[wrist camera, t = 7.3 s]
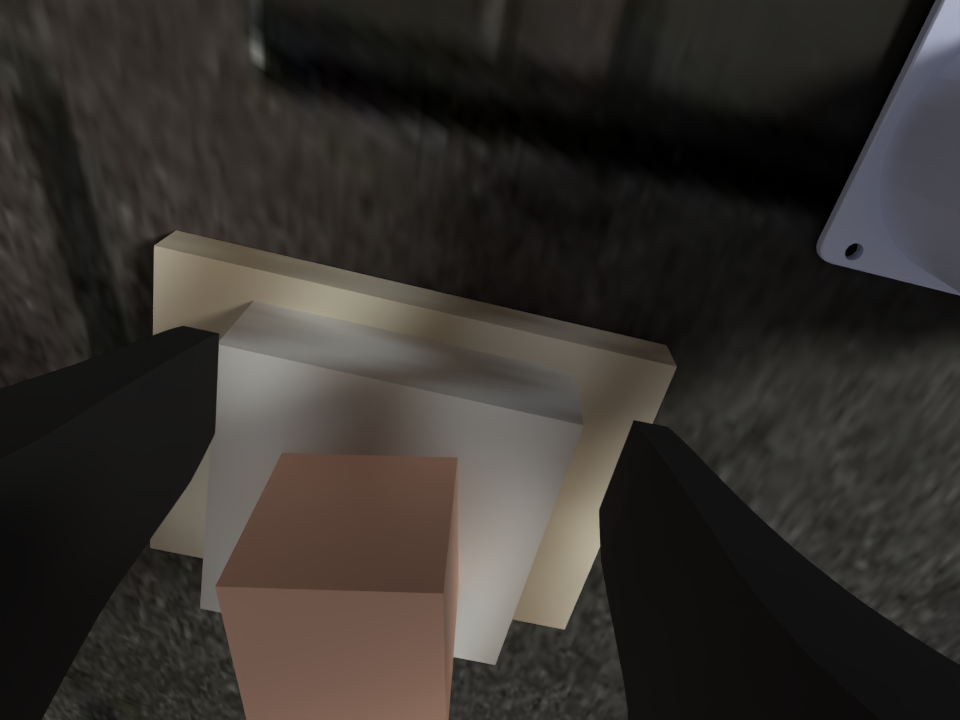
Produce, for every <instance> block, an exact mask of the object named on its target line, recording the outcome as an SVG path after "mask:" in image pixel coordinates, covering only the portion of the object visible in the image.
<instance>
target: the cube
mask: <svg viewBox="0 0 960 720" xmlns="http://www.w3.org/2000/svg"><path fill="white" fill-rule="evenodd" d="M215 589H216V593H217V597H218V601H219V606H220V610H221V614H222V618H223V622H224V627H225V631H226V635H227V639H228V643H229V648H230V652H231V656H232V660H233V664H234V669H235V673H236V677H237V681H238V685H239V690H240V694H241V698H242V702H243V706H244V710H245V715H246V719H247V720H448V717H449V705H450V692H451V680H452V667H453V655H454V642H455V630H456V617H457V604H458V592H459V548H458V458H457V457H418V456H378V455H339V454H299V453H282V454H281V456H280V458H279V460H278V462H277V464H276V466H275V468H274V470H273V472H272V474H271V476H270V478H269V480H268V482H267V484H266V486H265V488H264V490H263V492H262V494H261V496H260V498H259V500H258V502H257V504H256V506H255V508H254V510H253V512H252V514H251V516H250V518H249V520H248V522H247V524H246V526H245V528H244V530H243V532H242V534H241V536H240V538H239V540H238V542H237V544H236V546H235V548H234V550H233V552H232V554H231V556H230V558H229V560H228V562H227V564H226V566H225V568H224V570H223V572H222V574H221V576H220V578H219V580H218V582H217V584H216V586H215Z"/></svg>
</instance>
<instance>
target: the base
mask: <svg viewBox="0 0 960 720" xmlns="http://www.w3.org/2000/svg"><path fill="white" fill-rule="evenodd" d="M180 326H187V327H192V328H197V329H201V330H206V331H211V332H216V333H219V354H218V379H217V403H216V427H215V435H214V437H213V439H212V441H211V443H210V445H209V447H208V449H207V451H206V453H205V455H204V457H203V459H202V461H201V463H200V465H199V467H198V469H197V471H196V473H195V474H194V476H193V478H192V480H191V482H190V483H189V485H188V486H187V488H186V489H185V491H184V492H183V494H182V495H181V496H180V498H179V499H178V501H177V502H176V504H175V505H174V506H173V508H172V509H171V511H170V512H169V514H168V515H167V516H166V518H165V519H164V521H163V522H162V524H161V525H160V526H159V528H158V529H157V531H156V532H155V533H154V535H153V536H152V538H151V539H150V548H153V549H158V550H163V551H168V552H173V553H178V554H183V555H188V556H194V557H199V558H203V571H202V587H201V603H200V609H205V610H211V611H216V612H221V610H220V606H219V601H218V597H217V593H216V589H215V586H216V584H217V582H218V580H219V578H220V576H221V574H222V572H223V570H224V568H225V566H226V564H227V562H228V560H229V558H230V556H231V554H232V552H233V550H234V548H235V546H236V544H237V542H238V540H239V538H240V536H241V534H242V532H243V530H244V528H245V526H246V524H247V522H248V520H249V518H250V516H251V514H252V512H253V510H254V508H255V506H256V504H257V502H258V500H259V498H260V496H261V494H262V492H263V490H264V488H265V486H266V484H267V482H268V480H269V478H270V476H271V474H272V472H273V470H274V468H275V466H276V464H277V462H278V460H279V458H280V456H281V454H282V453H299V454H339V455H378V456H418V457H457V458H458V548H459V592H458V604H457V617H456V630H455V642H454V655H453V657H457V658H462V659H467V660H473V661H478V662H483V663H488V664H494V665H495V664H496V661H497V659H498V656H499V653H500V650H501V648H502V645H503V642H504V640H505V637H506V634H507V632H508V629H509V626H510V624H511V621H512V619H514V620H519V621H524V622H529V623H534V624H539V625H544V626H549V627H554V628H559V629H564V630H565V627H566V625H567V623H568V620H569V618H570V616H571V613H572V611H573V609H574V606H575V604H576V602H577V599H578V597H579V595H580V592H581V590H582V588H583V585H584V583H585V581H586V578H587V576H588V574H589V571H590V569H591V567H592V564H593V562H594V560H595V557H596V555H597V552H598V550H599V548H600V529H599V508H600V506H601V503H602V501H603V498H604V495H605V493H606V490H607V488H608V485H609V482H610V480H611V477H612V475H613V472H614V470H615V467H616V464H617V462H618V459H619V457H620V454H621V451H622V449H623V446H624V444H625V441H626V439H627V436H628V433H629V431H630V428H631V426H632V423H633V421H634V420H636V421H641V422H646V423H651V424H653V422H654V419H655V417H656V415H657V412H658V410H659V407H660V405H661V403H662V400H663V398H664V396H665V393H666V391H667V389H668V386H669V384H670V382H671V379H672V377H673V375H674V372H675V370H676V368H677V366H676V364H675V362H674V360H673V358H672V355H671V353H670V351H669V349H668V347H667V345H663V344H659V343H655V342H650V341H646V340H642V339H638V338H633V337H629V336H625V335H621V334H616V333H612V332H608V331H603V330H599V329H595V328H591V327H586V326H582V325H578V324H574V323H569V322H565V321H561V320H557V319H552V318H548V317H544V316H539V315H535V314H531V313H527V312H522V311H518V310H514V309H510V308H505V307H501V306H497V305H492V304H488V303H484V302H480V301H475V300H471V299H467V298H463V297H458V296H454V295H450V294H446V293H441V292H437V291H433V290H428V289H424V288H420V287H416V286H411V285H407V284H403V283H399V282H394V281H390V280H386V279H382V278H377V277H373V276H369V275H364V274H360V273H356V272H352V271H347V270H343V269H339V268H335V267H330V266H326V265H322V264H317V263H313V262H309V261H305V260H300V259H296V258H292V257H288V256H283V255H279V254H275V253H271V252H266V251H262V250H258V249H253V248H249V247H245V246H241V245H236V244H232V243H228V242H224V241H219V240H215V239H211V238H207V237H202V236H198V235H194V234H189V233H185V232H181V231H177V230H176V231H175V232H173V233H172V234H170V235H169V236H167V237H166V238H164V239H163V240H161V241H160V242H158V243H157V244H156V245H154V288H153V335H155V334H158V333H160V332H163V331H166V330H169V329H172V328H176V327H180Z"/></svg>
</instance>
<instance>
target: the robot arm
mask: <svg viewBox="0 0 960 720" xmlns="http://www.w3.org/2000/svg"><path fill="white" fill-rule="evenodd" d="M854 243H857V245H858V246H857V250H856V251H855V252H854V253H853V254H852V255H850V256H845V251H846V249H847V248H848V247H849V246H850V245H852V244H854ZM816 249H817V253H818V255H819V256H820V257H821V258H822V259H823V260H825V261H827V262H829V263H831V264H835V265H839V266H843V267H847V268H851V269H855V270H859V271H863V272H867V273H871V274H875V275H879V276H883V277H887V278H891V279H895V280H899V281H903V282H907V283H911V284H915V285H919V286H923V287H927V288H931V289H935V290H939V291H944V292H948V293H952V294H956V295H960V0H935V2H934V4H933V6H932V9H931V11H930V13H929V15H928V17H927V19H926V21H925V23H924V25H923V27H922V29H921V31H920V33H919V35H918V37H917V39H916V41H915V43H914V45H913V47H912V49H911V51H910V53H909V55H908V57H907V60H906V62H905V64H904V66H903V68H902V70H901V72H900V74H899V76H898V78H897V80H896V82H895V84H894V86H893V88H892V90H891V92H890V94H889V96H888V98H887V100H886V102H885V104H884V106H883V109H882V111H881V113H880V115H879V117H878V119H877V121H876V123H875V125H874V127H873V129H872V131H871V133H870V135H869V137H868V139H867V141H866V143H865V145H864V147H863V149H862V151H861V153H860V155H859V157H858V160H857V162H856V164H855V166H854V168H853V170H852V172H851V174H850V176H849V178H848V180H847V182H846V184H845V186H844V188H843V190H842V192H841V194H840V196H839V198H838V200H837V202H836V204H835V206H834V208H833V211H832V213H831V215H830V217H829V219H828V221H827V223H826V225H825V227H824V229H823V231H822V233H821V235H820V237H819V239H818V242H817V245H816ZM218 354H219V333H216V332H211V331H206V330H201V329H197V328H192V327H187V326H180V327H176V328H172V329H169V330H166V331H163V332H160V333H158V334H155V335H152V336H149V337H147V338H144V339H141V340H139V341H136V342H133V343H131V344H128V345H126V346H123V347H120V348H118V349H115V350H112V351H110V352H107V353H104V354H102V355H99V356H96V357H94V358H91V359H88V360H86V361H83V362H80V363H77V364H75V365H72V366H68V367H65V368H62V369H59V370H56V371H53V372H50V373H47V374H44V375H41V376H38V377H35V378H32V379H29V380H26V381H23V382H20V383H17V384H14V385H11V386H7V387H4V388H0V720H42V718H43V716H44V714H45V712H46V710H47V709H48V707H49V705H50V703H51V701H52V699H53V697H54V695H55V693H56V692H57V690H58V688H59V686H60V684H61V682H62V680H63V678H64V677H65V675H66V673H67V671H68V669H69V667H70V665H71V664H72V662H73V660H74V658H75V656H76V655H77V653H78V651H79V649H80V648H81V646H82V644H83V642H84V640H85V639H86V637H87V635H88V633H89V631H90V630H91V628H92V626H93V624H94V623H95V621H96V619H97V617H98V615H99V614H100V612H101V610H102V609H103V607H104V606H105V604H106V602H107V601H108V599H109V598H110V596H111V595H112V593H113V592H114V590H115V589H116V587H117V585H118V584H119V583H120V581H121V580H122V578H123V577H124V576H125V574H126V573H127V571H128V570H129V569H130V567H131V566H132V564H133V563H134V562H135V560H136V559H137V557H138V556H139V554H140V553H141V552H142V550H143V549H144V547H145V546H146V545H147V543H148V542H149V540H150V539H151V538H152V536H153V535H154V533H155V532H156V531H157V529H158V528H159V526H160V525H161V524H162V522H163V521H164V519H165V518H166V516H167V515H168V514H169V512H170V511H171V509H172V508H173V506H174V505H175V504H176V502H177V501H178V499H179V498H180V496H181V495H182V494H183V492H184V491H185V489H186V488H187V486H188V485H189V483H190V482H191V480H192V478H193V476H194V474H195V473H196V471H197V469H198V467H199V465H200V463H201V461H202V459H203V457H204V455H205V453H206V451H207V449H208V447H209V445H210V443H211V441H212V439H213V437H214V435H215V427H216V403H217V379H218ZM599 529H600V550H601V563H602V568H603V574H604V580H605V585H606V591H607V596H608V601H609V607H610V612H611V617H612V622H613V627H614V632H615V638H616V643H617V648H618V653H619V658H620V664H621V669H622V674H623V679H624V686H625V693H626V700H627V707H628V719H629V720H960V665H959V664H957V663H955V662H954V661H952V660H950V659H948V658H947V657H945V656H943V655H942V654H940V653H939V652H937V651H935V650H934V649H932V648H931V647H929V646H927V645H926V644H924V643H923V642H921V641H919V640H918V639H916V638H915V637H913V636H912V635H910V634H909V633H907V632H906V631H904V630H903V629H901V628H900V627H898V626H897V625H895V624H894V623H892V622H891V621H889V620H888V619H886V618H885V617H883V616H882V615H880V614H879V613H878V612H876V611H875V610H873V609H872V608H870V607H869V606H867V605H866V604H864V603H863V602H862V601H860V600H859V599H858V598H856V597H855V596H853V595H852V594H851V593H849V592H848V591H847V590H845V589H844V588H843V587H841V586H840V585H839V584H837V583H836V582H835V581H834V580H832V579H831V578H830V577H829V576H827V575H826V574H825V573H823V572H822V571H821V570H820V569H818V568H817V567H816V566H815V565H813V564H812V563H811V562H809V561H808V560H807V559H806V558H805V557H803V556H802V555H801V554H800V553H799V552H797V551H796V550H795V549H794V548H793V547H792V546H790V545H789V544H788V543H787V542H786V541H785V540H784V539H783V538H781V537H780V536H779V535H778V534H777V533H776V532H775V531H774V530H773V529H772V528H770V527H769V526H768V525H767V524H766V523H765V522H764V521H763V520H762V519H761V518H759V517H758V516H757V515H756V514H755V513H754V512H753V511H752V510H751V509H750V508H749V507H748V506H747V505H746V504H745V503H744V502H743V501H742V500H741V499H740V498H739V497H738V496H737V495H736V494H735V493H734V492H733V491H732V490H731V489H730V488H729V487H728V486H727V485H726V484H725V483H724V482H723V481H722V480H721V479H720V478H719V477H718V476H717V475H716V474H715V473H714V472H713V471H712V470H711V469H710V468H709V467H708V466H707V465H706V464H705V463H704V462H703V461H702V460H701V459H700V457H699V456H698V455H697V454H696V453H695V452H694V451H693V450H692V449H691V448H690V447H689V446H688V445H687V444H686V443H685V442H684V441H683V440H682V439H681V438H680V437H678V436H677V435H676V434H675V433H674V432H673V431H672V430H670V429H669V428H668V427H665V426H660V425H656V424H651V423H646V422H641V421H636V420H634V421H633V423H632V426H631V428H630V431H629V433H628V436H627V439H626V441H625V444H624V446H623V449H622V451H621V454H620V457H619V459H618V462H617V464H616V467H615V470H614V472H613V475H612V477H611V480H610V482H609V485H608V488H607V490H606V493H605V495H604V498H603V501H602V503H601V506H600V508H599Z"/></svg>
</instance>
